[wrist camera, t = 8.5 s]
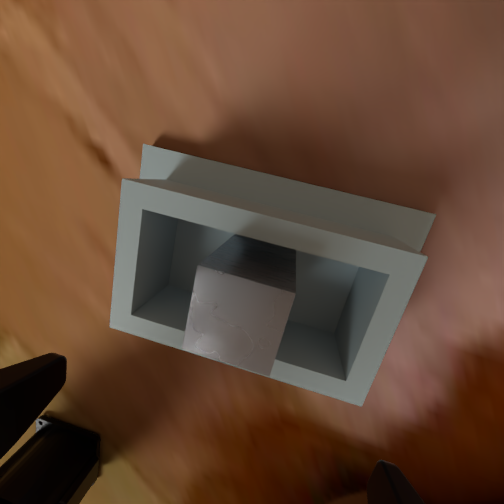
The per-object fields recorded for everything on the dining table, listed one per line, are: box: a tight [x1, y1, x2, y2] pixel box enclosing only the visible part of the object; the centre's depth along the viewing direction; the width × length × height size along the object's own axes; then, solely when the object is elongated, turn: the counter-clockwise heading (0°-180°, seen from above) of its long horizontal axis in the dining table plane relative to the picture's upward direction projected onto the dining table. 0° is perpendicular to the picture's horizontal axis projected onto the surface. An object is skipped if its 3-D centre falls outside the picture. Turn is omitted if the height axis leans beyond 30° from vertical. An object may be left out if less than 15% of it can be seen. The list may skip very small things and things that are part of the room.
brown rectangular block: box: [182, 234, 296, 377], centre depth 14 cm, size 4×4×7 cm
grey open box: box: [110, 144, 436, 407], centre depth 16 cm, size 18×12×6 cm, turn 77°
